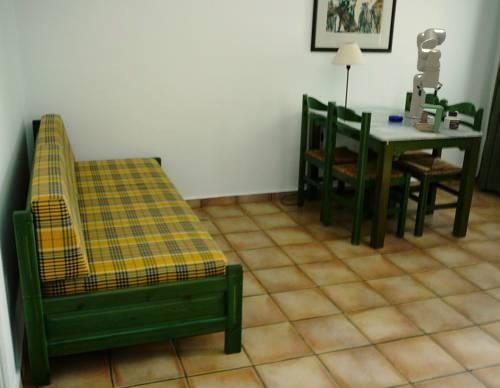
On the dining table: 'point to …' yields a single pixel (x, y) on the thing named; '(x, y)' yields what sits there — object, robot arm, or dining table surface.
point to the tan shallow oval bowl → (423, 126)
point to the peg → (424, 117)
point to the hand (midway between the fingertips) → (427, 96)
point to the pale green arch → (437, 115)
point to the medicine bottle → (451, 121)
